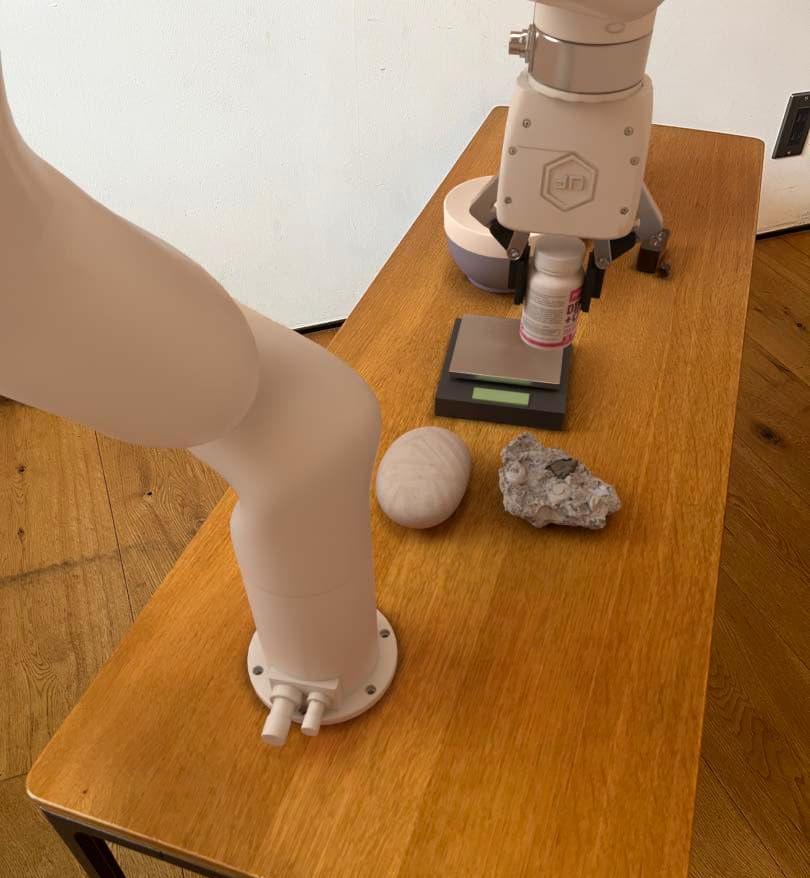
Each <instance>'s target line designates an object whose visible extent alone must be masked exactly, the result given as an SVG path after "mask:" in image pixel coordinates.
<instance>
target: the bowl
mask: <svg viewBox="0 0 810 878" xmlns="http://www.w3.org/2000/svg"><path fill="white" fill-rule="evenodd" d="M493 176H494V175H487V176H485V175H484V176H480V177H475V178H472V179H468V180H466V181H464V182H462V183H459V184H457V185H456V186H455V187H453V188H452V189H451V190H450V191H449V192H448V193H447V194H446V196H445V198H444V201H443V228H444V232H445V238H446V244H447V248H448V250H449V253H450V255H451V256H452V257H451V258H453V261H454V262H455V264H456V266H457V267H458V269H459V270H460V271H461V272H462V273H463V274H464V275H465V276H466V277H467V279H468V281H470V283H471V284H473V285H474V286H475V287H477V288H479V289H480V290H483V291H487V292H490V293H497V294H509V293H510V294H511V293H515V290H514V289H507V286H508V275H509V265H510V259H509V258H508V257H507V254H506V252H507V251H506V250H505V249H504V248H503V247H502V246H501V245H500V243H499V242H498V241H497V240H496V239H495V238H494V237H493V236H492V235H491V233H490V230H489V229H488V228H487V227H484V226H483V225H482V224H481V223H480V222H478V221H477V220H476V219H475V218H474V217H473V216H472V215H471V214H470V212H469V208H470V205H471V202H472V200H473V198H474V197H475V196H476V195H477V194H478V193H479V192H480V191H481V189H482V188H483V187H484V186H485V185H486V184H487V183H488V182H489V181H490V180H491V178H492V177H493ZM494 206H495V207H496V208H497V202H496V203H495V204H494ZM542 236H545V234H535V233H531V234H530V236H529V239H528V242H529V246H531V250H530V258H529V265H530V264H531V262H532V261H533V255H534V248H535V243H536V241H537V240H538V239H539V238H541V237H542Z"/></svg>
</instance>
